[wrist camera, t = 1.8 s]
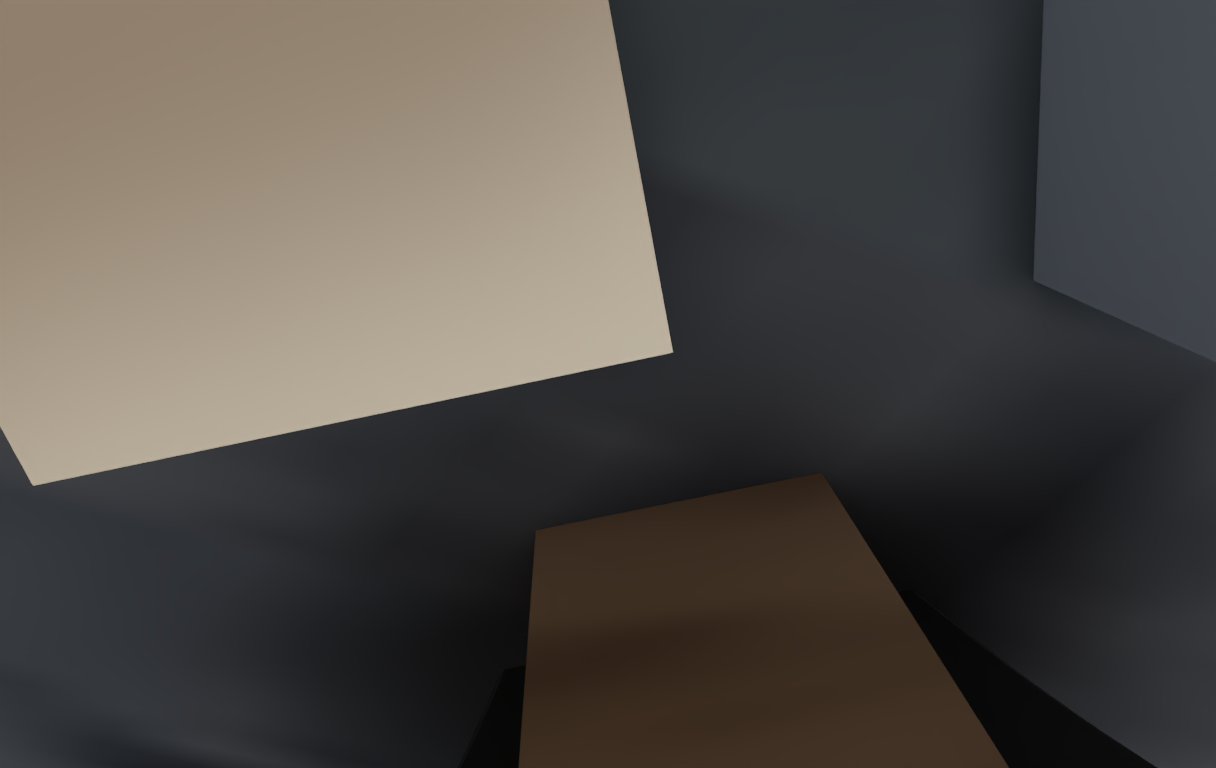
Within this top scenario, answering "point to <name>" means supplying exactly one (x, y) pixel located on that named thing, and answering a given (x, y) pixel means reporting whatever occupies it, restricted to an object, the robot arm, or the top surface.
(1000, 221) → the top surface
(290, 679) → the top surface
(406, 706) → the top surface
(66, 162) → the maple block
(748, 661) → the walnut block
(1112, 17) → the base block
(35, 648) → the top surface
